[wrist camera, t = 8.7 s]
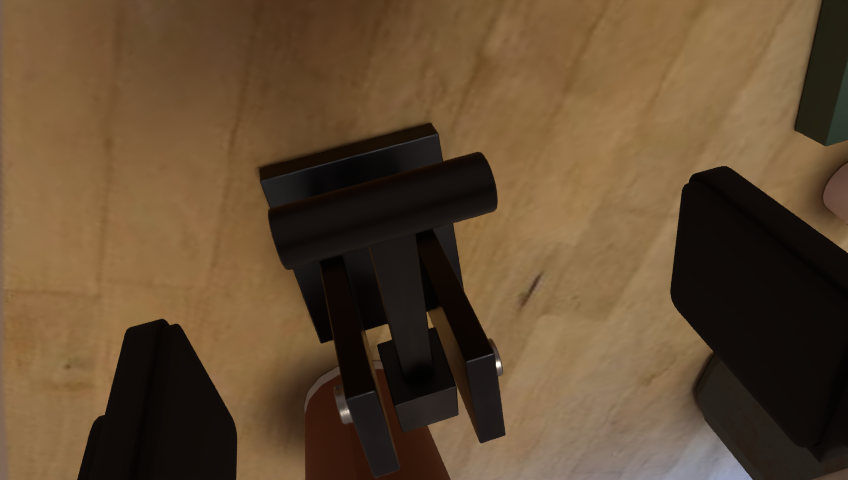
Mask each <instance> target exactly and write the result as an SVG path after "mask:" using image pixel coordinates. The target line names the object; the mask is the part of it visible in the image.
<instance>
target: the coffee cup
mask: <svg viewBox="0 0 848 480" xmlns="http://www.w3.org/2000/svg"><path fill="white" fill-rule="evenodd" d="M373 363H374V367H375V371H376V375H377V379H378V383H379V387H380V391H381V394H382V398H383V402H384V406H385V410H386V414H387V418H388V422H389V426H390V430H391V433H392V437H393V441H394V445H395V449H396V453H397V457H398V461H399V465H400V470H398V471H395V472H392V473H389V474H386V475H383V476H380V477H377V478H374V477H373V474H372V471H371V469H370V466H369V463H368V461H367V458H366V455H365V453H364V450H363V447H362V444H361V442H360V439H359V436H358V434H357V431H356V428H355V425H354V423H349V424H346V425H344V424H343V423H342V421H341V418H340V415H339V412H338V408H337V404H336V400H335V395H334V387H335V386H337V385H340V384H342V381H341V376H340V370H339V366H338V367H336V368H335V369H333V370H331V371H329V372H328V373H326V374H324V375H323V376H321V377H320V378H319V379H318V380H317V381H316V383H315V384H314V385H313V386H312V387H311V388H310V390H309V391H308V393H307V397H306V401H305V405H304V411H305V480H451V479H450V477H449V475H448V472H447V470H446V468H445V466H444V463H443V461H442V459H441V456H440V454H439V452H438V449H437V447H436V445H435V442H434V440H433V438H432V435H431V433H430V431H429V428H428V426H427V425H426V426H423V427H420V428H417V429H414V430H411V431H408V432H405V433H402V431H401V427H400V424H399V421H398V418H397V415H396V411H395V408H394V405H393V401H392V398H391V394H390V391H389V387H388V384H387V380H386V376H385V373H384V369H383V366H382V362H381V361H373Z"/></svg>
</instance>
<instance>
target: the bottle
mask: <svg viewBox="0 0 848 480" xmlns="http://www.w3.org/2000/svg"><path fill="white" fill-rule="evenodd" d="M697 396H698V400H699V403H700V406H701V409H702V412H703V415H704V418H705V421H706V422H707V423H708V424H709V426H710V427H711V428H712V429H713V431H714V432H715V433H716V434H717V436H718V437H719V438H720V439H721V441H722V442H723V443H724V444H725V446H726V447H727V448H728V449H729V451H730V452H731V453H732V454H733V456H734V457H735V458H736V459H737V461H738V462H739V463H740V464H741V466H742V467H743V468H744V469H745V471H746V472H747V473H748V474H749V476H750V477H751V478H752V479H753V480H812V479H815V478H819V477H822V476H825V475H828V474H831V473H834V472H837V471H841V470H844V469H847V468H848V454H847V455H844V456H841V457H837V458H834V459H831V460H828V461H825V462H822V463H819V462H818V461H817V459H816V458H815V457H814V456H813V455H812V454H811V453H810V451H809V450H808V449H807V448H806V447H804V448H802V447H799V446H797V445H796V444H794V443H793V442H792V441H791V440H790V439H789V438H788V437H787V435H786V434H785V433H784V432H783V431H782V430H781V429H780V427H779V426H778V425H777V424H776V423H775V422H774V421H773V419H772V418H771V417H770V416H769V415H768V414H767V412H766V411H765V410H764V409H763V408H762V407H761V406H760V404H759V403H758V402H757V401H756V400H755V399H754V398H753V396H752V395H751V394H750V393H749V392H748V391H747V389H746V388H745V387H744V386H743V385H742V384H741V383H740V381H739V380H738V379H737V378H736V377H735V376H734V375H733V373H732V372H731V371H730V370H729V369H728V368H727V367H726V365H725V364H724V363H723V362H722V361H721V360H720V358H719V357H718V356H717V355H715V356H714V357H713V358H712V359H711V361H710V363H709V365H708V367H707V369H706V370H705V372H704V374H703V376H702V378H701V380H700V382H699V384H698V385H697Z"/></svg>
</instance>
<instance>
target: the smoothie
mask: <svg viewBox="0 0 848 480" xmlns="http://www.w3.org/2000/svg"><path fill="white" fill-rule="evenodd" d="M823 201H824V204H825V206H826V207H827V208H828V209H830V210H831V211H832V212H833V213H834V214H835V215H837V216H838V217H839V218H840V219H841V220H842V221H844V222H845V223H846V224H847V225H848V163H846V164H845V165H843V166H842V167H841V168H840V169H839V170H838V171H837V172H836V173H835V174H834V175H833V176H832V177H831V179H830V180H829V182H828V184H827V186H826V188H825V191H824V195H823Z"/></svg>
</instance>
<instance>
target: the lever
mask: <svg viewBox="0 0 848 480" xmlns="http://www.w3.org/2000/svg"><path fill="white" fill-rule="evenodd" d="M497 202H498V198H497V189H496V184H495V180H494V177H493V173H492V170H491V168H490V165H489V163H488V161H487V159H486V158H485V156H484V155H483V154H482V153H481V152H475V153H471V154H468V155H464V156H460V157H457V158H453V159H449V160H446V161H442V162H438V163H435V164H431V165H427V166H424V167H420V168H416V169H413V170H409V171H405V172H402V173H398V174H394V175H391V176H387V177H383V178H380V179H376V180H372V181H369V182H365V183H361V184H358V185H354V186H350V187H347V188H343V189H339V190H335V191H332V192H328V193H324V194H321V195H317V196H313V197H310V198H306V199H302V200H299V201H295V202H291V203H288V204H284V205H280V206H277V207H273V208H270V209H269V210H268V219H269V225H270V229H271V233H272V237H273V241H274V244H275V247H276V250H277V253H278V256H279V258H280V261H281V263H282V265H283V266H284V268H285V269H286V270H290V269H294V268H297V267H301V266H304V265H308V264H311V263H315V262H318V261H322V260H325V259H329V258H333V257H336V256H340V255H343V254H347V253H350V252H354V251H357V250H361V249H364V248H368V247H369V251H370V255H371V259H372V263H373V267H374V271H375V275H376V278H377V282H378V286H379V290H380V294H381V298H382V302H383V306H384V310H385V314H386V317H387V321H388V325H389V329H390V333H391V337H392V340H390V341H387V342H384V343H380V344H378V345H377V348H378V351H379V355H380V358H381V362H382V366H383V369H384V373H385V376H386V380H387V384H388V387H389V391H390V394H391V398H392V401H393V405H394V408H395V411H396V415H397V418H398V421H399V424H400V427H401V431H402V433H405V432H408V431H411V430H414V429H417V428H420V427H423V426H426V425H429V424H432V423H436V422H439V421H442V420H445V419H448V418H451V417H454V416H457V415H458V400H457V386H456V383H455V380H454V377H453V374H452V372H451V369H450V366H449V363H448V360H447V357H446V355H445V352H444V349H443V346H442V343H441V340H440V337H439V335H438V332H437V329H436V327H433V328H430V329H429V328H428V321H427V314H426V307H425V300H424V293H423V286H422V279H421V272H420V265H419V258H418V251H417V244H416V237H415V234H417V233H420V232H424V231H427V230H431V229H434V228H438V227H441V226H445V225H448V224H452V223H455V222H459V221H462V220H466V219H469V218H473V217H477V216H480V215H484V214H487V213H491V212H494V211H495V210H496V209H497Z"/></svg>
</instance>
